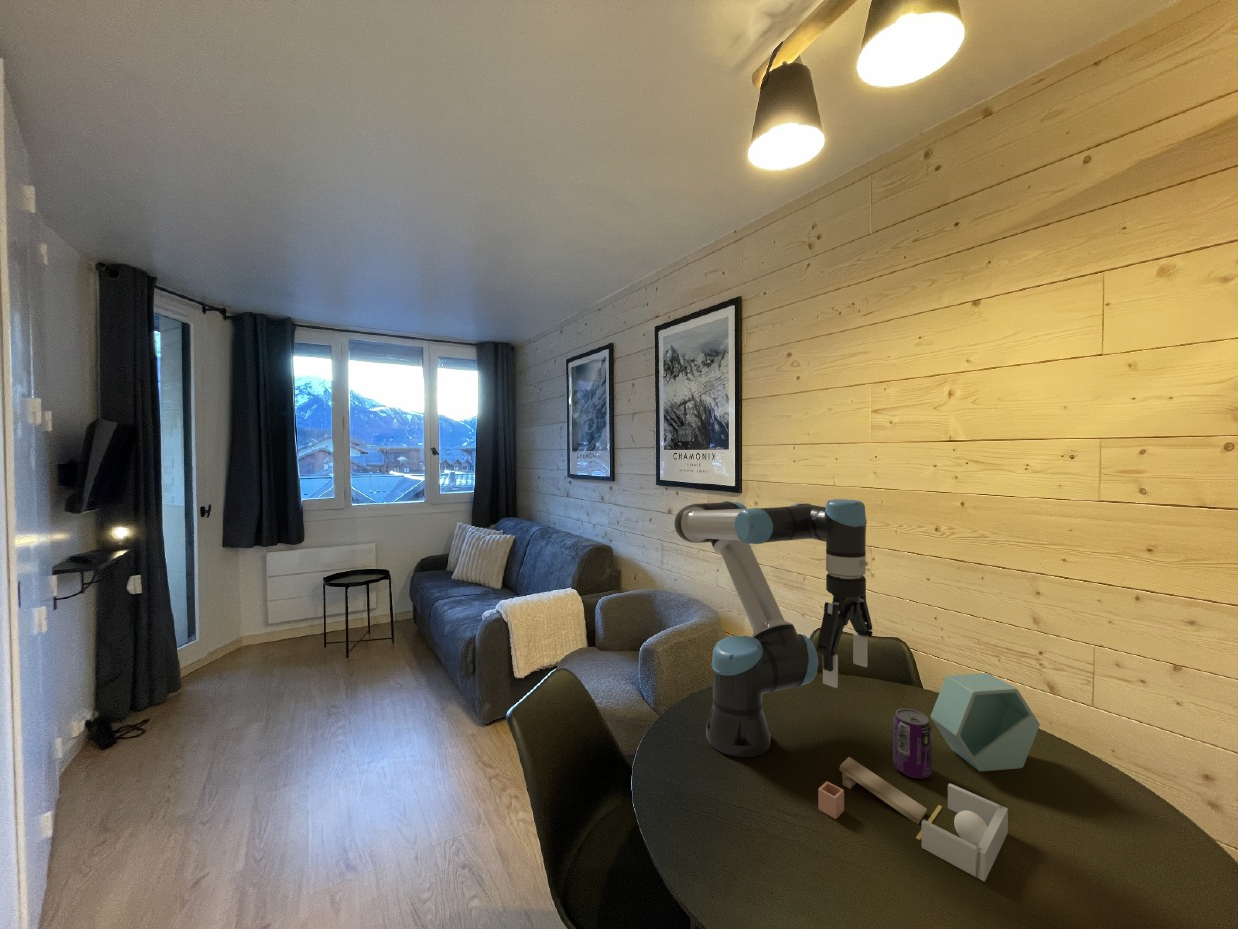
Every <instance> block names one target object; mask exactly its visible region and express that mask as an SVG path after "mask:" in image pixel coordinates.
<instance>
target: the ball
mask: <svg viewBox="0 0 1238 929" xmlns="http://www.w3.org/2000/svg"><path fill="white" fill-rule="evenodd" d="M953 823H954V824H953V825H954V829H955V831H956V833H957V835H958V837H960V838H962V839H964V840H966V841H967V842H969V843H971V844H973V845H975V846H978V845H979V843H980V841H981V839H982V837H983V835H984V833H985V831H986V830H987V828H988V827H987V825H986V823H985V822H984V820H983V819H982V818H981V817H980V816H978V815H977V814H975V813H973V812H971V811H961V812H959V813H957V812H956V815H955V816H954V820H953Z"/></svg>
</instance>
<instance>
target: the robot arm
mask: <svg viewBox="0 0 1238 929" xmlns="http://www.w3.org/2000/svg"><path fill="white" fill-rule="evenodd" d="M674 529H675V531H676V534H677V535H678V536H679V537H680V538H681V539H682V540H683V541H686V542H688V543H695V544H698V543H699V544H700V543H701V544H702V543H704V544H705V543H711V545H712V548H713V550H714V552H715V553H717V554H721V557H722V559H723V561H724V564H725V566H726V569H727V571H728V574H729V576H730V578H731V581H732V583H733V586H734V587H735V591H736V592H737V595H738V597H739V600H740V603H741V605H742V607H743V609H744V612H745V615H746V617H747V620H748V622H749V624H750V627H751V630H752V632H753V633H752V635H751V636H750V635H749V636H748V635H730V636H727V637H725V638H722V639H720V640H719V641H718V642H717V643H716V644H715V645H714V647H713V649H712V660H711V668H712V707H711V709H710V713H709V716H708V718H707V722H706V726H705V736H706V740H707V742H708V744H710V745H711V747H713V749H715V750H716V751H718V752H720V753H722V754H725V755H727V756H731V757H737V758H754V757H757V756H758V757H759V756H761V755H762V754H764V753H766V752H767V751H768V750H769V749H770V747H771V730H770V728H769V725H768V723H767V722H768V721H767V719H766V715H765V713H764V710H763V695H764V694H768V693H772V692H778V691H784V690H787V689H793V688H794V689H795V688H796V689H798V688H799V687H801V686H805V685H808V684H810V683H812V682H813V681H814V680H815V678H816V676H817V673H818V667H819V659H818V658H819V657H818V653H820V654H822V684H824V685H827V686H829V687H831V688H833V689H834V688H835V689H838V687H839V677H838V676H839V669H838V668H839V661H838V660H839V658H838V657H839V655H838V654H836V652H837V651H838V650H837V649H838V646H839V643H840V640H841V637H842V634H843V631H844V629H845V627H846V626H848V624H849V621H850V624H851V626H852V628H853V630H854V633H853V635H852V636H853V637H852V642H853V643H852V644H853V645H852V650H853V651H852V652H853V653H852V657H853V659H852V663H853V664H854V665H857V666H860V667H862V668H863V667H864V668H868V637H872V636H873V631H872V630H873V624H872V621H871V615H870V611H869V607H868V604H867V578H866V576H865V575H866V572H867V571H866V570H867V569H866V567H867V566H868V565H869V564H868V561H866V559H867V557H866V555H867V551H866V549H867V548H866V547H867V546H866V544H867V540H866V537H867V536H866V535H867V533H866V532H867V514H866V506H865V504H864V502H862V501H860V500H856V499H842V498H839V499H837V498H836V499H835V498H834V499H830V500H829V499H828V500H827V501H826V503H825V506H820V505H814V504H810V503H794V504H791V505H790V506H780V507H778V506H777V507H775V506H774V507H761V508H759V507H758V508H757V507H754V508H753V507H750V508H748V507H747V506H745V505H744V504H743V503H741V502H739V501H727V500H726V501H723V502H707V503H692V504H689V505H685V506H684V507H683V508H681V509H680V510H679V511H678V512H677V513H676V515H675V518H674ZM807 539H808V540H809V539H810V540H811V539H812V540H816V541H820V542H825V544H826V545H825V546H826V548H825V570H826V572H827V574H826V576H825V580H826V581H825V583H826V585H825V587H826V588H825V589H826V591H827V592H828V593H829V594H830V595H832V602H827V601H826V602H824V605H823V606H824V607H823V617H822V621H821V626H820V629H819V634H818V639H817V644H816V647H815V645H814V643H813V642H812V640H811V639H810V638H809V637H807V635H805V634H801V633H798V632H797V630H796V628H795V626H794V623H791V622H789V621H786V620H785V618H784V616H783V614H782V612H781V610H780V608H779V606H778V603H777V601H776V598H775V597H774V594H773V592H772V589H771V587H770V585H769V583H768V580H767V579H766V576H765V575H764V572H763V570H762V568H761V566H760V564H759V562H758V559H757V558H756V557H757V556H756V555H755V553H754V551H753V549H752V546H751V545H759V544H766V543H775V542H783V541H784V542H786V541H789V542H790V541H798V540H807Z"/></svg>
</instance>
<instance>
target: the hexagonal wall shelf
mask: <svg viewBox="0 0 1238 929" xmlns="http://www.w3.org/2000/svg"><path fill="white" fill-rule="evenodd" d="M929 717H930V719H931V721H932V722H933V724H934V725H935V726H936V728H937V729H938V731H939V732H940V734H941V735H942V738H943V739H944V741H946V743H947V745H948V746H949V748H950V749H951V750H952V751H953V752H954V753H955V754H957V755H958V756H959V757H960V758H961V759H963V761H964V760H965V762H967V763H968V764H969V765H970V766H972V767H973V768H974V769H975V770H977V771H978V772H989V771H990V772H991V771H992V772H993V771H1002V770H1003V771H1004V770H1005V771H1006V770H1015V769H1022V768H1023V767H1024V766H1025V763H1026V761H1027V758H1028V756H1029V753H1030V751H1031V748H1032V746H1033V744H1034V741H1035V738H1036V736H1037V733H1038V731H1039V728H1040V725H1041V724H1040V722H1039V720H1038V719H1037V718H1036V716H1035V714H1034V713H1033V711H1032V710H1031V707H1030V706H1029V704H1028V703H1027V702H1026V700H1025V698H1024V697H1023V696H1022V694H1021V692H1020V690H1018V688H1016V687H1014V686H1012V685H1011V684H1009V683H1007V682H1005V681H1003V680H1001V679H999V678H998V677H995V676H994V675H992V674H990V673H988V672H985V673H983V672H982V673H968V674H967V673H966V674H956V675H955V674H951V675H950V674H949V675H946V676H945V679H944V681H943V683H942V685H941V688H940V691H939V694H938V696H937V699H936V700H935V704H934V706H933V709H932V711H931V714H930V716H929Z"/></svg>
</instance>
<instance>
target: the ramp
mask: <svg viewBox="0 0 1238 929" xmlns="http://www.w3.org/2000/svg"><path fill="white" fill-rule="evenodd" d="M838 770H839V771H840V772H841V773H842V774H841V775H842V779H841V780H842V786H843V787H846V788H848V789H850V790H851V789H852V788H853V787H854V786H855V785H856V784H859V785H860V786H861V787H863V788H864V789H866V790H867V791H869V792H870V793H871V794H872V795H875V797H877V798H879V799H880V800H881V801H883V802H884V803H886V804H887V805H888V806H890V807H891V808H893V809H894V810H896V811H897V812H899V813H900V814H901V815H903V816H904V817H905V818H907V819H909V820H910V821H911V822H913V823H915V824H918V825H919V824H920V822H922V820H923V819H924V816H925V815H926V814H927V811H928V809H927V808H926V807H925V806H923V805H922V804H920V803H919V802H918V801H916V800H914V799H913V798H912V797H910V796H909V795H907V794H905V793H904V792H902V791H901V790H900V789H898V788H896V787H895V786H894V785H892V784H890V783H889V782H887V781H886V780H884V779H883V778H882V777H880V776H879V775H877V774H875V773H874V772H873V771H872V770H870V769H868V768H866V766H864V765H862V764H860V763H859V762H858V761H857V760H855V759H853V758H852V757H850V756H848V757H847V758H846V759H845V760H844V761H843V762H841V764H840V765H839V769H838Z"/></svg>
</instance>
